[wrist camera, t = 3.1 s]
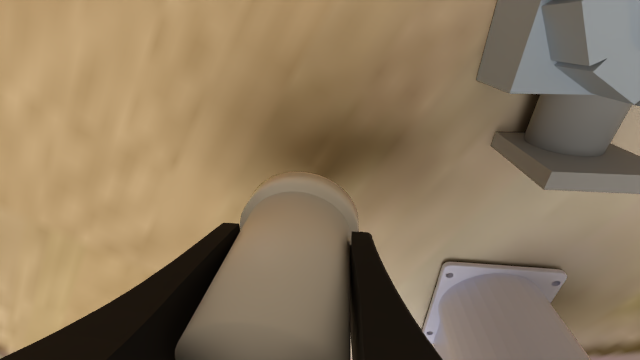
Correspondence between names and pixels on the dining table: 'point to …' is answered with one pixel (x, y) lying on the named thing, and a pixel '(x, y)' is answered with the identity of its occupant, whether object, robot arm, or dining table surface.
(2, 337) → the dining table surface
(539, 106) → the valve
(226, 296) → the cylinder
